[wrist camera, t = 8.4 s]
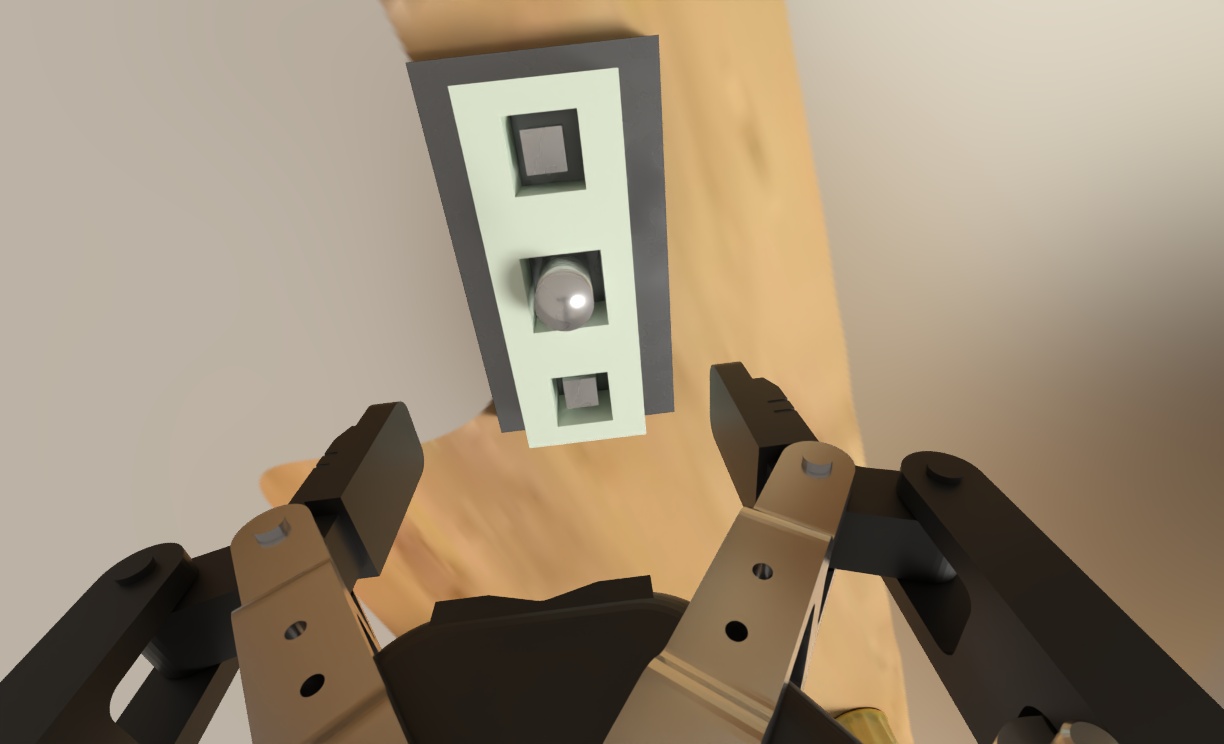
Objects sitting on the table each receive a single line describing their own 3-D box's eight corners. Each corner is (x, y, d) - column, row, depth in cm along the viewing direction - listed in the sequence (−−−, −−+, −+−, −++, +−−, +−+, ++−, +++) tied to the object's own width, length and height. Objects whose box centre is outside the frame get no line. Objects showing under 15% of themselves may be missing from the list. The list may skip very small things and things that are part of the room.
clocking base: (669, 397, 29) (690, 462, 24) (504, 417, 29) (490, 486, 24) (653, 39, 20) (680, 17, 15) (416, 65, 20) (362, 52, 15)
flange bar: (639, 402, 27) (646, 434, 25) (533, 415, 27) (529, 448, 25) (612, 72, 20) (618, 67, 17) (464, 88, 19) (447, 86, 17)
